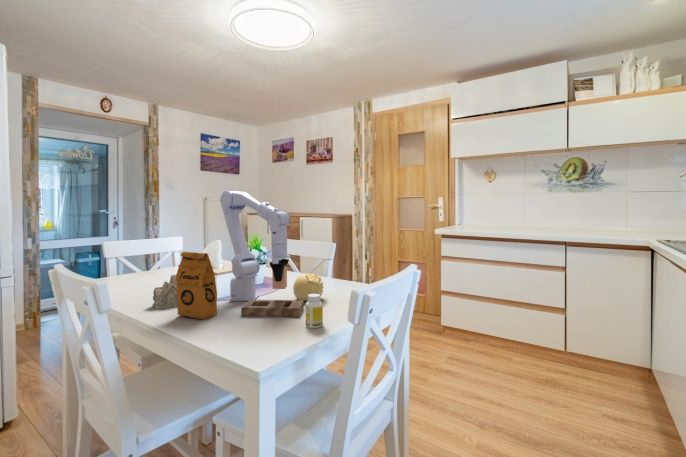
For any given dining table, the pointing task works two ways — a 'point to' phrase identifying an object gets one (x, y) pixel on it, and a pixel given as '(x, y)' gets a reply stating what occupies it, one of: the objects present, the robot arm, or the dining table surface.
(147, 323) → the dining table surface
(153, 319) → the dining table surface
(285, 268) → the square peg
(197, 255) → the coffee package
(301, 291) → the sculpture
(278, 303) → the socket board
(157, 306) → the ceramic cottage
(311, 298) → the supplement bottle
